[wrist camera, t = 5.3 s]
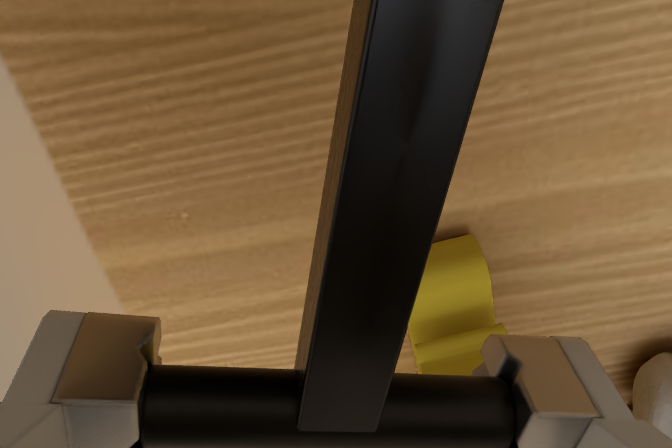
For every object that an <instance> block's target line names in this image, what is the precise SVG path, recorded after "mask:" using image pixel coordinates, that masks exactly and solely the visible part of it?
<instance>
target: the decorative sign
mask: <svg viewBox="0 0 672 448" xmlns="http://www.w3.org/2000/svg"><path fill="white" fill-rule="evenodd" d="M407 328H408V332H409V337H410V341H411V345H412V350H413V354H414V358H415V363H416V367H417V371H418V374H436V375H465V376H471V373H472V371H473V370H474V369H475V368H477V367H478V366H480V365H481V364H482V363H484V360H483V358H482V355H481V353H480V350H481V348H482V346H483V343H484V341H485V339H486V338H487V337H488V336H489V335H490V334H505V335H507V332H506V329H505V326H504V325H503V324H498V325H495V315H494V306H493V297H492V287H491V279H490V274H489V270H488V266H487V263H486V260H485V257H484V255H483V253H482V250H481V248H480V246H479V244H478V242H477V240H476V238H475V236H474V235H473V234H469V235H464V236H460V237H456V238H452V239H448V240H444V241H440V242H436V243H432V246H431V249H430V253H429V256H428V259H427V263H426V266H425V270H424V273H423V276H422V280H421V283H420V286H419V290H418V293H417V297H416V300H415V303H414V307H413V310H412V314H411V317H410V320H409V324H408V327H407Z"/></svg>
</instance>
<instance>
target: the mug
mask: <svg viewBox="0 0 672 448" xmlns="http://www.w3.org/2000/svg"><path fill="white" fill-rule="evenodd" d="M630 411H631V413H632V414H633V416H634V417H635V419H638V420H646V421H647V422H649V423H650V424H651V425H653V426H654V427H656V428H657V429H658V430H660V431H661V432H662V433H664V434H665V435H667V436H668V437H669V438H671V439H672V353H660V354H657V355H655V356H654V357H652V358H651V359H650V360H649V361H647V362H646V363H644V364H643V365H642V366H641V367H640V369H639V371H638V372H637V374H636V377H635V380H634V384H633V410H630Z"/></svg>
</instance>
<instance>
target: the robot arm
mask: <svg viewBox="0 0 672 448" xmlns="http://www.w3.org/2000/svg"><path fill="white" fill-rule="evenodd" d="M160 341H161V320H160V318H159V317H148V316H135V315H120V314H108V313H94V312H88V313H82V312H70V311H57V310H50V311H49V312H48V313H47V314H46V315H45V316H44V317H43V318H42V321H41V322H40V325H39V327H38V329H37V331H36V333H35V335H34V337H33V339H32V341H31V343H30V345H29V347H28V349H27V352H26V354H25V356H24V358H23V360H22V362H21V364H20V366H19V368H18V370H17V373H16V375H15V377H14V379H13V381H12V383H11V385H10V387H9V389H8V391H7V393H6V395H5V397H4V399H3V401H2V402H0V448H142V446H141V442H140V431H141V424H142V412H143V403H144V396H145V390H146V385H147V380H148V372H149V370H150V368H151V366H153V365H162V358H161V357H160V356H159V355H158V351H159V346H160ZM480 353H481V355H482V358H483V360H484V363H482V364H481V365H480V366H478V367H477V368H475V369H474V370H473V371H472V373H471V376H493V377H498V378H500V379H501V380H503V381H504V382H505V384H506V385H507V387H508V389H509V391H510V393H511V396H512V400H513V404H514V411H515V431H514V437H513V440H512V443H511V446H510V447H509V448H672V439H671V438H669V437H668V436H667V435H665V434H664V433H662V432H661V431H660V430H658V429H657V428H656V427H654V426H653V425H651V424H650V423H649V422H647V421H646V420H638V419H635V417H634V416H633V414H632V413H631V411H630V409H629V408H628V406H627V405H626V403H625V401H624V400H623V398H622V397H621V395H620V394H619V392H618V390H617V389H616V387H615V386H614V384H613V382H612V381H611V379H610V378H609V376H608V374H607V373H606V371H605V370H604V368H603V367H602V365H601V363H600V362H599V360H598V359H597V357H596V355H595V354H594V352H593V351H592V349H591V347H590V346H589V344H588V343H587V342H586V341H585V340H583V339H582V338H580V337H560V336H550V337H547V336H529V335H505V334H490V335H489V336H488V337H487V338H486V339H485V341H484V343H483V346H482V348H481V350H480Z"/></svg>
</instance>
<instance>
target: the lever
mask: <svg viewBox="0 0 672 448" xmlns="http://www.w3.org/2000/svg"><path fill="white" fill-rule="evenodd" d="M503 2H504V0H354V1H353V8H352V14H351V20H350V26H349V32H348V39H347V45H346V51H345V57H344V63H343V70H342V76H341V82H340V88H339V94H338V101H337V107H336V113H335V119H334V125H333V132H332V138H331V144H330V150H329V156H328V163H327V169H326V175H325V181H324V187H323V194H322V200H321V206H320V212H319V218H318V225H317V231H316V237H315V243H314V249H313V256H312V262H311V268H310V274H309V280H308V287H307V293H306V299H305V305H304V311H303V318H302V324H301V330H300V336H299V342H298V349H297V355H296V361H295V367H294V369H268V368H240V367H211V366H183V365H153V366H151V368H150V370H149V372H148V380H147V385H146V390H145V396H144V403H143V412H142V424H141V431H140V442H141V446H142V448H509V447H510V446H511V443H512V440H513V437H514V431H515V411H514V404H513V400H512V396H511V393H510V391H509V389H508V387H507V385H506V384H505V382H504V381H503V380H501V379H500V378H498V377H493V376H465V375H436V374H408V373H394V371H395V368H396V364H397V361H398V358H399V354H400V351H401V347H402V344H403V341H404V337H405V334H406V330H407V327H408V324H409V320H410V317H411V314H412V310H413V307H414V303H415V300H416V297H417V293H418V290H419V286H420V283H421V280H422V276H423V273H424V270H425V266H426V263H427V259H428V256H429V253H430V249H431V246H432V242H433V239H434V236H435V232H436V229H437V226H438V222H439V219H440V215H441V212H442V209H443V205H444V202H445V198H446V195H447V192H448V188H449V185H450V181H451V178H452V175H453V171H454V168H455V165H456V161H457V158H458V154H459V151H460V148H461V144H462V141H463V137H464V134H465V131H466V127H467V124H468V121H469V117H470V114H471V110H472V107H473V104H474V100H475V97H476V93H477V90H478V87H479V83H480V80H481V77H482V73H483V70H484V66H485V63H486V60H487V56H488V53H489V49H490V46H491V43H492V39H493V36H494V33H495V29H496V26H497V22H498V19H499V16H500V12H501V9H502V5H503Z"/></svg>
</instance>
